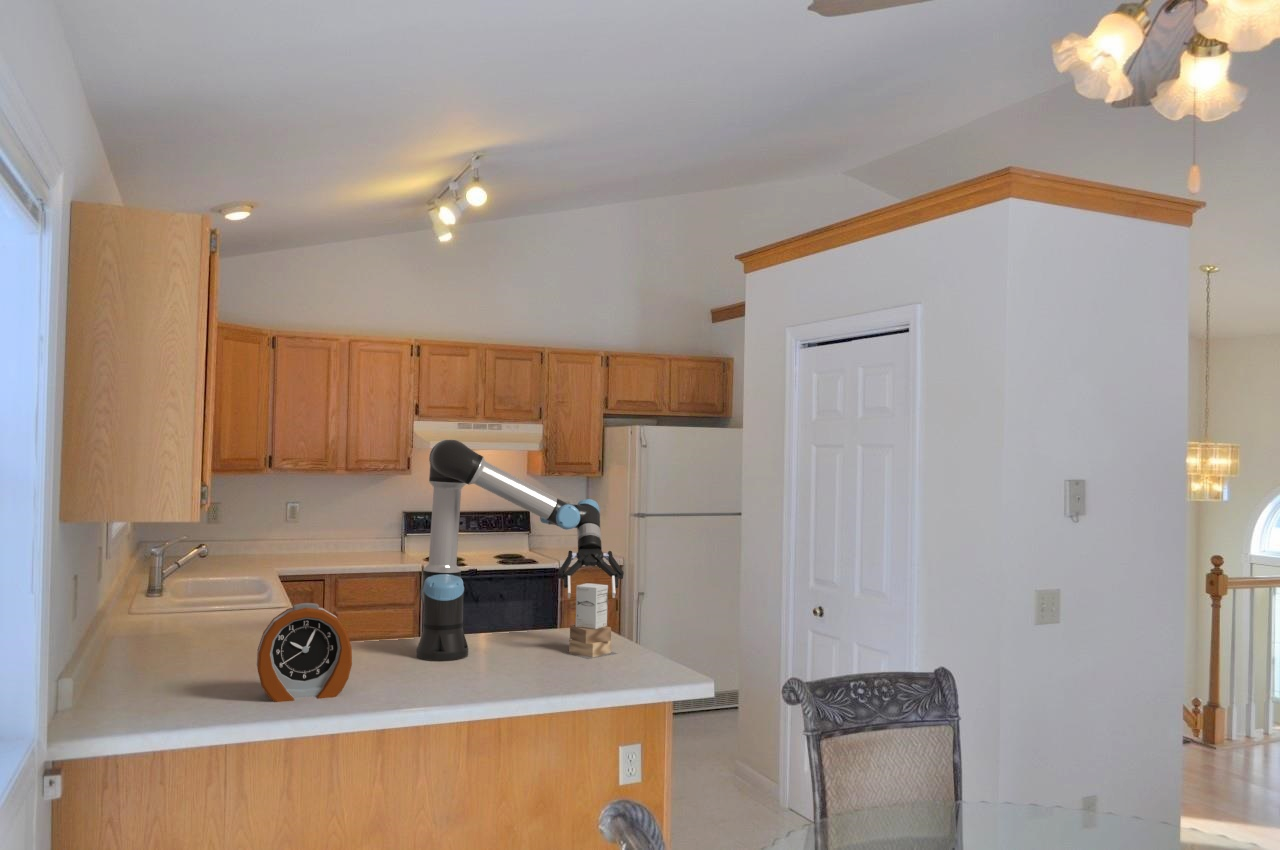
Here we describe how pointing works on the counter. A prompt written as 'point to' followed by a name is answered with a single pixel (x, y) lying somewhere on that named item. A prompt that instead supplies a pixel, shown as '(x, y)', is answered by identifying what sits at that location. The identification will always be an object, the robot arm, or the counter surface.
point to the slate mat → (591, 657)
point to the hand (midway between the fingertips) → (591, 595)
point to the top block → (590, 634)
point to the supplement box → (591, 605)
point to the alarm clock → (304, 654)
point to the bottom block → (590, 648)
